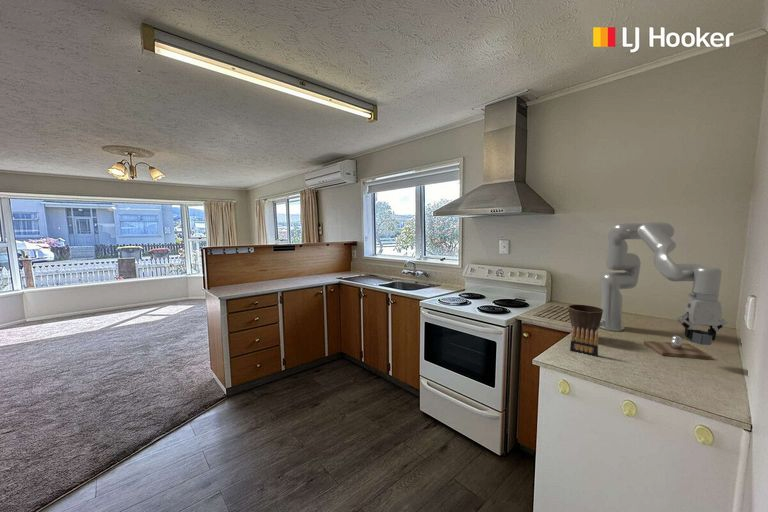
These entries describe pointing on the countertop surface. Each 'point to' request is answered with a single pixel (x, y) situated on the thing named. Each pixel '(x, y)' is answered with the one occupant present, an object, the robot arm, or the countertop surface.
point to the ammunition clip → (585, 345)
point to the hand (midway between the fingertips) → (699, 338)
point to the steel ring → (701, 337)
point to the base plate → (685, 350)
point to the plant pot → (585, 318)
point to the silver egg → (676, 342)
